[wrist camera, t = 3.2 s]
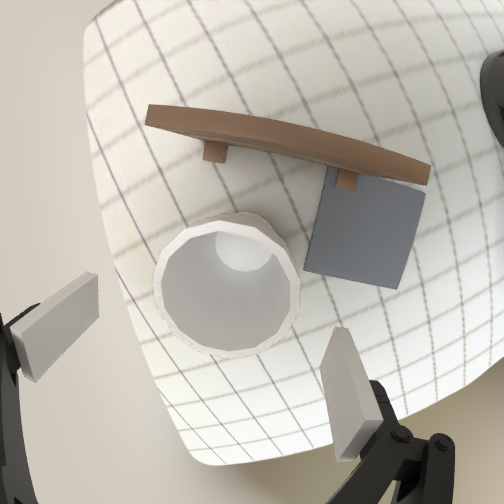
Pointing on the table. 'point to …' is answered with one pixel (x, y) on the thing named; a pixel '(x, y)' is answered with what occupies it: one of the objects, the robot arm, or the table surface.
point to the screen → (287, 143)
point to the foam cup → (228, 285)
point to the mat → (364, 230)
